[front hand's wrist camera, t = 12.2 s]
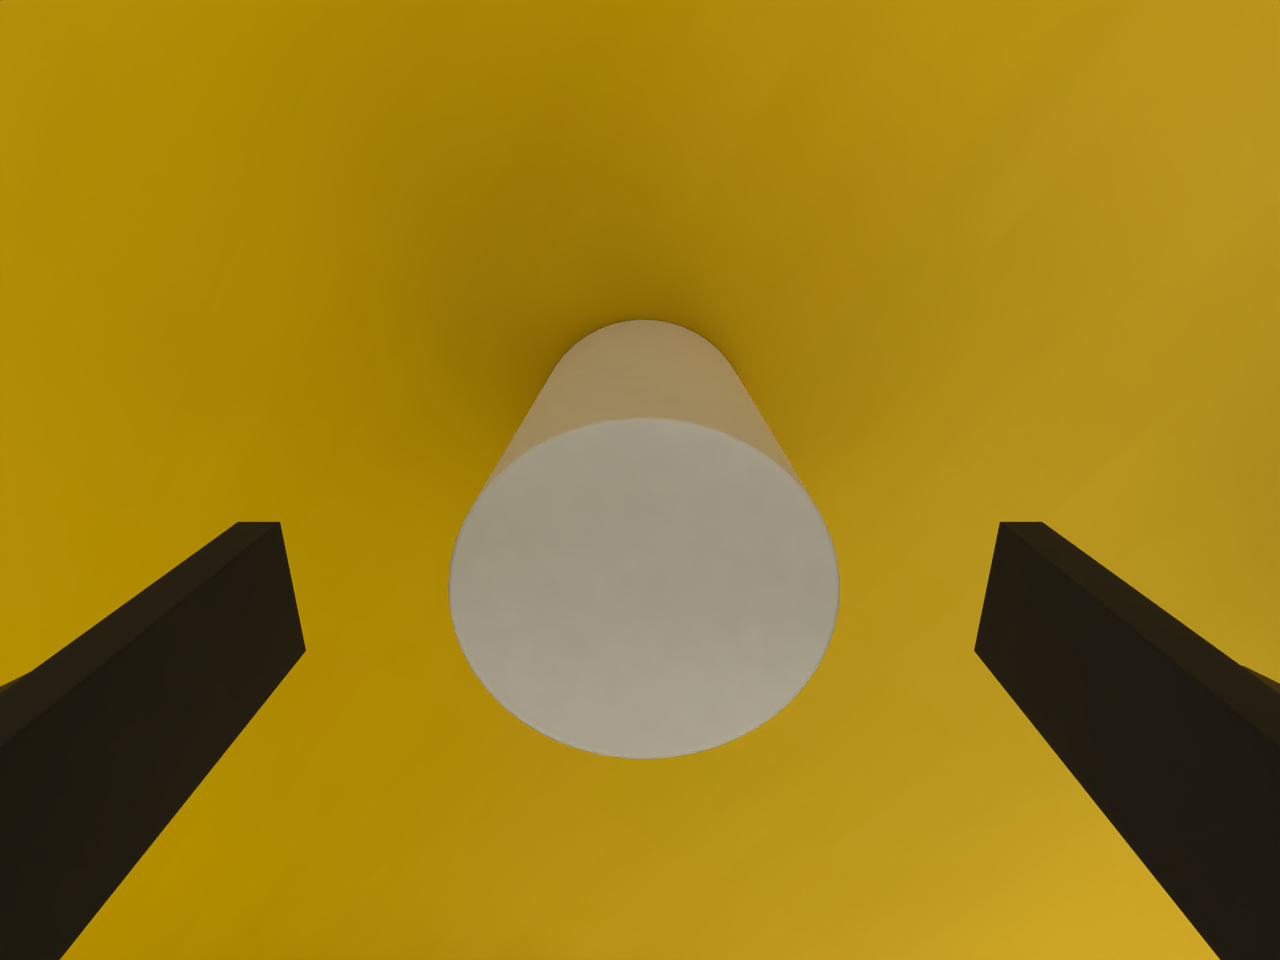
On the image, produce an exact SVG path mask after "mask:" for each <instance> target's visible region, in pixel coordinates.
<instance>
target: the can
mask: <svg viewBox="0 0 1280 960" xmlns="http://www.w3.org/2000/svg"><path fill="white" fill-rule="evenodd" d="M839 584H840V578H839V570H838V563H837V556H836V552H835V549H834V546H833V542H832V539H831V536H830V533H829V531H828V528H827V526H826V524H825V522H824V520H823V518H822V516H821V514H820V512H819V510H818V508H817V507H816V505H815V503H814V502H813V500H812V498H811V497H810V495H809V493H808V492H807V490H806V488H805V487H804V485H803V483H802V482H801V480H800V478H799V477H798V475H797V473H796V472H795V470H794V468H793V467H792V465H791V463H790V462H789V460H788V458H787V457H786V455H785V453H784V452H783V450H782V448H781V447H780V445H779V443H778V442H777V440H776V439H775V437H774V435H773V434H772V432H771V430H770V429H769V427H768V425H767V424H766V422H765V420H764V419H763V417H762V415H761V414H760V412H759V410H758V409H757V407H756V405H755V404H754V402H753V400H752V399H751V397H750V395H749V394H748V392H747V390H746V389H745V387H744V385H743V384H742V382H741V380H740V379H739V377H738V375H737V374H736V372H735V371H734V369H733V368H732V366H731V365H730V363H729V362H728V360H727V359H726V358H725V357H724V356H723V354H722V353H721V352H720V351H719V350H718V349H717V348H716V347H715V346H713V345H712V344H711V343H710V342H709V341H707V340H706V339H704V338H703V337H701V336H700V335H698V334H697V333H695V332H693V331H691V330H688V329H686V328H684V327H681V326H678V325H675V324H672V323H668V322H663V321H657V320H632V321H624V322H620V323H616V324H612V325H609V326H606V327H604V328H601V329H599V330H597V331H595V332H593V333H591V334H589V335H588V336H586V337H585V338H583V339H582V340H580V341H579V342H578V343H576V344H575V345H574V346H573V347H572V348H571V349H570V350H569V351H568V352H567V353H566V354H565V355H564V356H563V357H562V359H561V360H560V361H559V362H558V364H557V365H556V367H555V368H554V370H553V372H552V373H551V375H550V377H549V378H548V380H547V382H546V383H545V385H544V387H543V388H542V390H541V392H540V393H539V395H538V397H537V398H536V400H535V402H534V403H533V405H532V407H531V408H530V410H529V412H528V413H527V415H526V417H525V418H524V420H523V422H522V423H521V425H520V427H519V428H518V430H517V432H516V433H515V435H514V437H513V438H512V440H511V442H510V443H509V445H508V447H507V448H506V450H505V452H504V453H503V455H502V457H501V459H500V460H499V462H498V464H497V465H496V467H495V469H494V470H493V472H492V474H491V475H490V477H489V479H488V480H487V482H486V484H485V485H484V487H483V489H482V490H481V492H480V494H479V495H478V497H477V499H476V500H475V502H474V504H473V505H472V507H471V509H470V511H469V512H468V514H467V516H466V517H465V519H464V521H463V524H462V526H461V529H460V531H459V534H458V536H457V539H456V541H455V545H454V549H453V553H452V558H451V562H450V570H449V583H448V590H449V604H450V612H451V616H452V621H453V625H454V630H455V633H456V636H457V638H458V641H459V643H460V646H461V649H462V651H463V654H464V655H465V657H466V659H467V661H468V663H469V664H470V666H471V668H472V670H473V672H474V673H475V674H476V676H477V677H478V678H479V680H480V681H481V683H482V684H483V685H484V687H485V688H486V689H487V690H488V691H489V692H490V694H491V695H492V696H493V697H494V698H495V699H496V700H497V701H498V702H499V703H500V704H501V705H502V706H503V707H504V708H506V709H507V710H508V711H509V712H511V713H512V714H513V715H514V716H515V717H517V718H518V719H519V720H521V721H522V722H524V723H525V724H527V725H528V726H530V727H532V728H533V729H535V730H536V731H538V732H540V733H542V734H544V735H546V736H548V737H550V738H552V739H554V740H556V741H558V742H561V743H563V744H566V745H569V746H572V747H575V748H577V749H580V750H584V751H588V752H592V753H596V754H600V755H606V756H613V757H621V758H637V759H654V758H668V757H676V756H681V755H687V754H693V753H697V752H700V751H704V750H707V749H711V748H714V747H717V746H720V745H722V744H725V743H727V742H730V741H732V740H735V739H737V738H739V737H741V736H743V735H744V734H746V733H748V732H750V731H752V730H754V729H756V728H757V727H759V726H760V725H762V724H763V723H764V722H766V721H767V720H769V719H770V718H772V717H773V716H774V715H776V714H777V713H778V712H779V711H780V710H781V709H782V708H784V707H785V706H786V705H787V704H788V703H789V702H790V701H791V700H792V699H793V698H794V697H795V696H796V695H797V694H798V693H799V691H800V690H801V689H802V688H803V687H804V686H805V685H806V683H807V682H808V680H809V679H810V677H811V676H812V674H813V673H814V671H815V670H816V668H817V667H818V665H819V664H820V661H821V659H822V657H823V655H824V653H825V651H826V649H827V647H828V645H829V642H830V639H831V636H832V632H833V629H834V626H835V623H836V617H837V611H838V605H839Z"/></svg>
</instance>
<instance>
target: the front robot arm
mask: <svg viewBox="0 0 1280 960" xmlns="http://www.w3.org/2000/svg"><path fill="white" fill-rule="evenodd" d="M305 651H306V649H305V644H304V639H303V634H302V629H301V624H300V619H299V614H298V609H297V604H296V599H295V594H294V589H293V584H292V579H291V574H290V569H289V564H288V559H287V554H286V549H285V545H284V540H283V535H282V530H281V525H280V522H237V523H236V524H234V525H233V526H232V527H230V528H229V529H228V530H226V531H225V532H223V533H222V534H221V535H219V536H218V537H216V538H215V539H214V540H212V541H211V542H210V543H208V544H207V545H205V546H204V547H203V548H201V549H200V550H199V551H197V552H196V553H194V554H193V555H192V556H190V557H189V558H187V559H186V560H185V561H183V562H182V563H181V564H179V565H178V566H176V567H175V568H174V569H172V570H171V571H169V572H168V573H167V574H165V575H164V576H163V577H161V578H160V579H158V580H157V581H156V582H154V583H153V584H151V585H150V586H149V587H147V588H146V589H145V590H143V591H142V592H140V593H139V594H138V595H136V596H135V597H134V598H132V599H131V600H129V601H128V602H127V603H125V604H124V605H122V606H121V607H120V608H118V609H117V610H116V611H114V612H113V613H111V614H110V615H109V616H107V617H106V618H104V619H103V620H102V621H100V622H99V623H98V624H96V625H95V626H93V627H92V628H91V629H89V630H88V631H86V632H85V633H84V634H82V635H81V636H80V637H78V638H77V639H75V640H74V641H73V642H71V643H70V644H69V645H67V646H66V647H64V648H63V649H62V650H60V651H59V652H57V653H56V654H55V655H53V656H52V657H51V658H49V659H48V660H46V661H45V662H44V663H42V664H41V665H39V666H38V667H37V668H35V669H34V670H33V671H31V672H29V673H27V674H25V675H23V676H21V677H19V678H17V679H15V680H13V681H11V682H9V683H7V684H5V685H3V686H1V687H0V960H60V959H61V957H62V956H63V955H64V954H65V952H66V951H67V950H68V949H69V947H70V946H71V945H72V944H73V942H74V941H75V940H76V939H77V937H78V936H79V935H80V934H81V932H82V931H83V930H84V929H85V927H86V926H87V925H88V923H89V922H90V921H91V920H92V918H93V917H94V916H95V915H96V913H97V912H98V911H99V910H100V908H101V907H102V906H103V905H104V903H105V902H106V901H107V900H108V898H109V897H110V896H111V895H112V893H113V892H114V891H115V890H116V888H117V887H118V886H119V885H120V883H121V882H122V881H123V880H124V878H125V877H126V876H127V875H128V873H129V872H130V871H131V870H132V868H133V867H134V866H135V864H136V863H137V862H138V861H139V859H140V858H141V857H142V856H143V854H144V853H145V852H146V851H147V849H148V848H149V847H150V846H151V844H152V843H153V842H154V841H155V839H156V838H157V837H158V836H159V834H160V833H161V832H162V831H163V829H164V828H165V827H166V826H167V824H168V823H169V822H170V821H171V819H172V818H173V817H174V816H175V814H176V813H177V812H178V811H179V809H180V808H181V807H182V805H183V804H184V803H185V802H186V800H187V799H188V798H189V797H190V795H191V794H192V793H193V792H194V790H195V789H196V788H197V787H198V785H199V784H200V783H201V782H202V780H203V779H204V778H205V777H206V775H207V774H208V773H209V772H210V770H211V769H212V768H213V767H214V765H215V764H216V763H217V762H218V760H219V759H220V758H221V757H222V755H223V754H224V753H225V752H226V750H227V749H228V748H229V747H230V745H231V744H232V743H233V741H234V740H235V739H236V738H237V736H238V735H239V734H240V733H241V731H242V730H243V729H244V728H245V726H246V725H247V724H248V723H249V721H250V720H251V719H252V718H253V716H254V715H255V714H256V713H257V711H258V710H259V709H260V708H261V706H262V705H263V704H264V703H265V701H266V700H267V699H268V698H269V696H270V695H271V694H272V693H273V691H274V690H275V689H276V688H277V686H278V685H279V684H280V682H281V681H282V680H283V679H284V677H285V676H286V675H287V674H288V672H289V671H290V670H291V669H292V667H293V666H294V665H295V664H296V662H297V661H298V660H299V659H300V657H301V656H302V655H303V654H304V652H305ZM974 651H975V652H976V654H977V655H978V656H979V657H980V659H981V660H982V661H983V662H984V664H985V665H986V666H987V667H988V669H989V670H990V671H991V672H992V674H993V675H994V676H995V677H996V679H997V680H998V681H999V682H1000V684H1001V685H1002V686H1003V688H1004V689H1005V690H1006V691H1007V693H1008V694H1009V695H1010V696H1011V698H1012V699H1013V700H1014V701H1015V703H1016V704H1017V705H1018V706H1019V708H1020V709H1021V710H1022V711H1023V713H1024V714H1025V715H1026V716H1027V718H1028V719H1029V720H1030V721H1031V723H1032V724H1033V725H1034V726H1035V728H1036V729H1037V730H1038V731H1039V733H1040V734H1041V735H1042V736H1043V738H1044V739H1045V740H1046V741H1047V743H1048V744H1049V745H1050V747H1051V748H1052V749H1053V750H1054V752H1055V753H1056V754H1057V755H1058V757H1059V758H1060V759H1061V760H1062V762H1063V763H1064V764H1065V765H1066V767H1067V768H1068V769H1069V770H1070V772H1071V773H1072V774H1073V775H1074V777H1075V778H1076V779H1077V780H1078V782H1079V783H1080V784H1081V785H1082V787H1083V788H1084V789H1085V790H1086V792H1087V793H1088V794H1089V795H1090V797H1091V798H1092V799H1093V800H1094V802H1095V803H1096V804H1097V806H1098V807H1099V808H1100V809H1101V811H1102V812H1103V813H1104V814H1105V816H1106V817H1107V818H1108V819H1109V821H1110V822H1111V823H1112V824H1113V826H1114V827H1115V828H1116V829H1117V831H1118V832H1119V833H1120V834H1121V836H1122V837H1123V838H1124V839H1125V841H1126V842H1127V843H1128V844H1129V846H1130V847H1131V848H1132V849H1133V851H1134V852H1135V853H1136V854H1137V856H1138V857H1139V858H1140V859H1141V861H1142V862H1143V863H1144V864H1145V866H1146V867H1147V868H1148V870H1149V871H1150V872H1151V873H1152V875H1153V876H1154V877H1155V878H1156V880H1157V881H1158V882H1159V883H1160V885H1161V886H1162V887H1163V888H1164V890H1165V891H1166V892H1167V893H1168V895H1169V896H1170V897H1171V898H1172V900H1173V901H1174V902H1175V903H1176V905H1177V906H1178V907H1179V908H1180V910H1181V911H1182V912H1183V913H1184V915H1185V916H1186V917H1187V918H1188V920H1189V921H1190V922H1191V923H1192V925H1193V926H1194V927H1195V929H1196V930H1197V931H1198V932H1199V934H1200V935H1201V936H1202V937H1203V939H1204V940H1205V941H1206V942H1207V944H1208V945H1209V946H1210V947H1211V949H1212V950H1213V951H1214V952H1215V954H1216V955H1217V956H1218V957H1219V959H1220V960H1280V684H1279V683H1277V682H1275V681H1273V680H1271V679H1269V678H1267V677H1265V676H1263V675H1261V674H1259V673H1257V672H1255V671H1253V670H1251V669H1249V668H1247V667H1244V666H1241V665H1239V664H1238V663H1236V662H1235V661H1234V660H1232V659H1231V658H1229V657H1228V656H1227V655H1225V654H1224V653H1223V652H1221V651H1220V650H1218V649H1217V648H1216V647H1214V646H1213V645H1211V644H1210V643H1209V642H1207V641H1206V640H1205V639H1203V638H1202V637H1200V636H1199V635H1198V634H1196V633H1195V632H1194V631H1192V630H1191V629H1189V628H1188V627H1187V626H1185V625H1184V624H1182V623H1181V622H1180V621H1178V620H1177V619H1176V618H1174V617H1173V616H1171V615H1170V614H1169V613H1167V612H1166V611H1164V610H1163V609H1162V608H1160V607H1159V606H1158V605H1156V604H1155V603H1153V602H1152V601H1151V600H1149V599H1148V598H1146V597H1145V596H1144V595H1142V594H1141V593H1140V592H1138V591H1137V590H1135V589H1134V588H1133V587H1131V586H1130V585H1129V584H1127V583H1126V582H1124V581H1123V580H1122V579H1120V578H1119V577H1117V576H1116V575H1115V574H1113V573H1112V572H1111V571H1109V570H1108V569H1106V568H1105V567H1104V566H1102V565H1101V564H1099V563H1098V562H1097V561H1095V560H1094V559H1093V558H1091V557H1090V556H1088V555H1087V554H1086V553H1084V552H1083V551H1081V550H1080V549H1079V548H1077V547H1076V546H1075V545H1073V544H1072V543H1070V542H1069V541H1068V540H1066V539H1065V538H1064V537H1062V536H1061V535H1059V534H1058V533H1057V532H1055V531H1054V530H1052V529H1051V528H1050V527H1048V526H1047V525H1046V524H1044V523H1043V522H1000V525H999V530H998V535H997V540H996V545H995V549H994V554H993V559H992V564H991V569H990V574H989V579H988V584H987V589H986V594H985V599H984V604H983V609H982V614H981V619H980V624H979V629H978V634H977V639H976V644H975V649H974Z"/></svg>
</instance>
